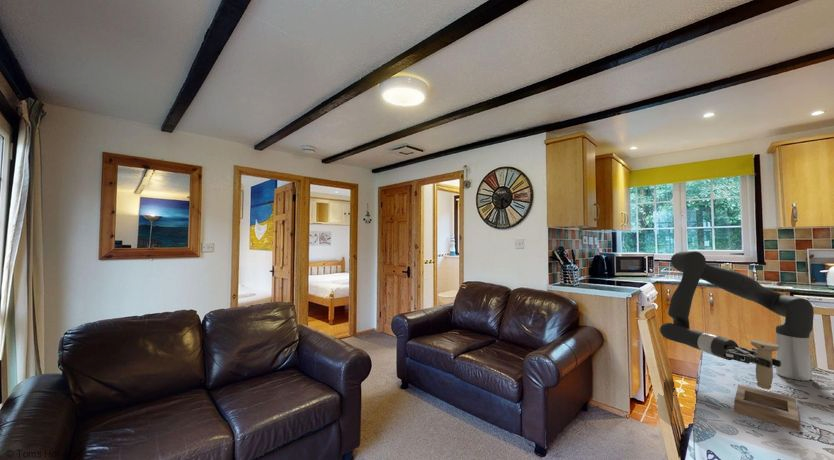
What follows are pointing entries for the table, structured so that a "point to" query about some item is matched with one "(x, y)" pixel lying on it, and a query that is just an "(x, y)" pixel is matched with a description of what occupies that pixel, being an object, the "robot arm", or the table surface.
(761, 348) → the handle
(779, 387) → the table surface
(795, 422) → the wooden rectangular frame
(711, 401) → the table surface
